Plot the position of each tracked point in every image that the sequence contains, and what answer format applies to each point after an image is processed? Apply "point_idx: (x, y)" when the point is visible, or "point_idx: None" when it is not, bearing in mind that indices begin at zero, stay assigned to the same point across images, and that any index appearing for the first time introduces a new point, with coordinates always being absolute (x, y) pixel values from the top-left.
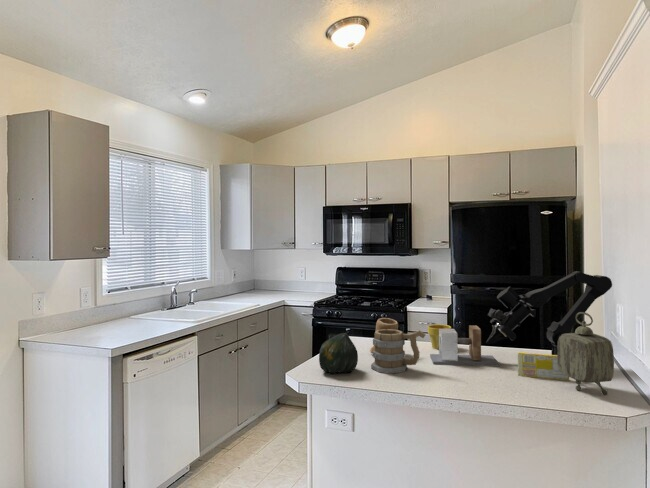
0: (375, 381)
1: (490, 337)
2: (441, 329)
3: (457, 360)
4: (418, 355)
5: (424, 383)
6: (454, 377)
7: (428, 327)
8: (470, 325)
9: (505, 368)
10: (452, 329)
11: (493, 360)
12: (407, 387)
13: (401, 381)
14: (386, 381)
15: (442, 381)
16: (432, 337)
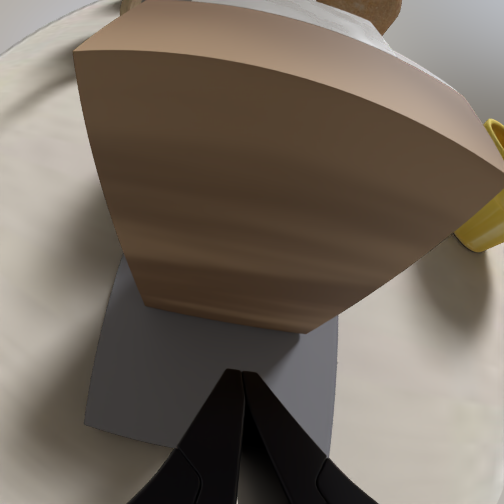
0: (88, 20)
1: (212, 429)
2: (343, 12)
3: None
4: (120, 15)
5: (22, 68)
6: (12, 125)
7: (496, 122)
8: (470, 106)
9: (36, 424)
10: (367, 40)
11: (169, 419)
12: (25, 50)
13: (62, 41)
14: (77, 28)
15: (7, 97)
16: None
